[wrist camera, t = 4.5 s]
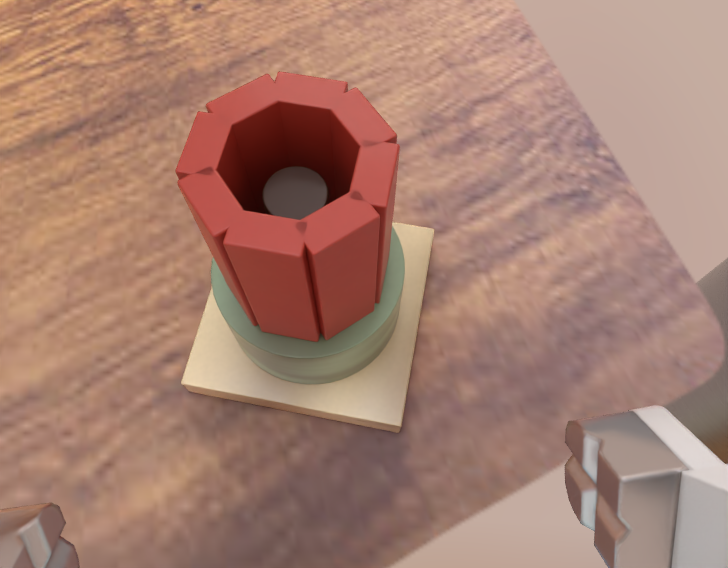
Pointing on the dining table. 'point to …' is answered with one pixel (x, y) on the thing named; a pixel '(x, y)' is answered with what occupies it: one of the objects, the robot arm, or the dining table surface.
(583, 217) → the dining table surface
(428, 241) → the ring stand
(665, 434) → the robot arm
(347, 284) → the ring sleeve
